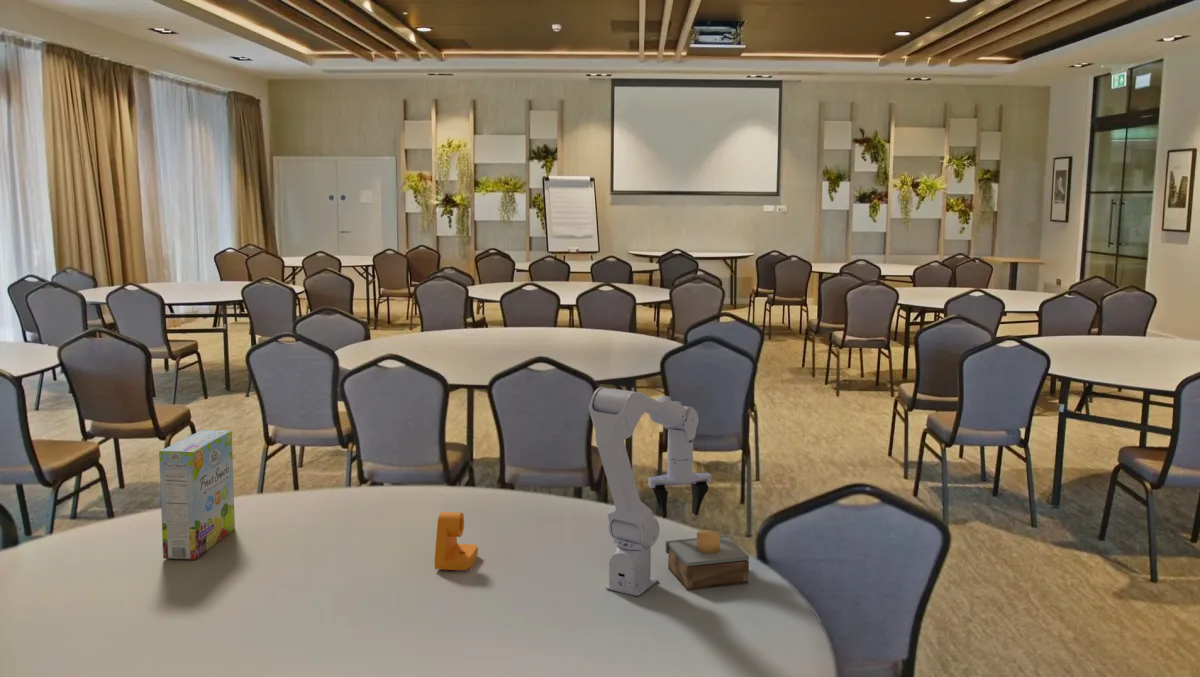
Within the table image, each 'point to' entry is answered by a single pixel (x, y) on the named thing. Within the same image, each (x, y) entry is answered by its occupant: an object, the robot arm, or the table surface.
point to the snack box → (196, 493)
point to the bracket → (452, 544)
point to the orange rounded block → (708, 541)
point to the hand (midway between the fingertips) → (679, 515)
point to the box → (708, 573)
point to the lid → (692, 557)
